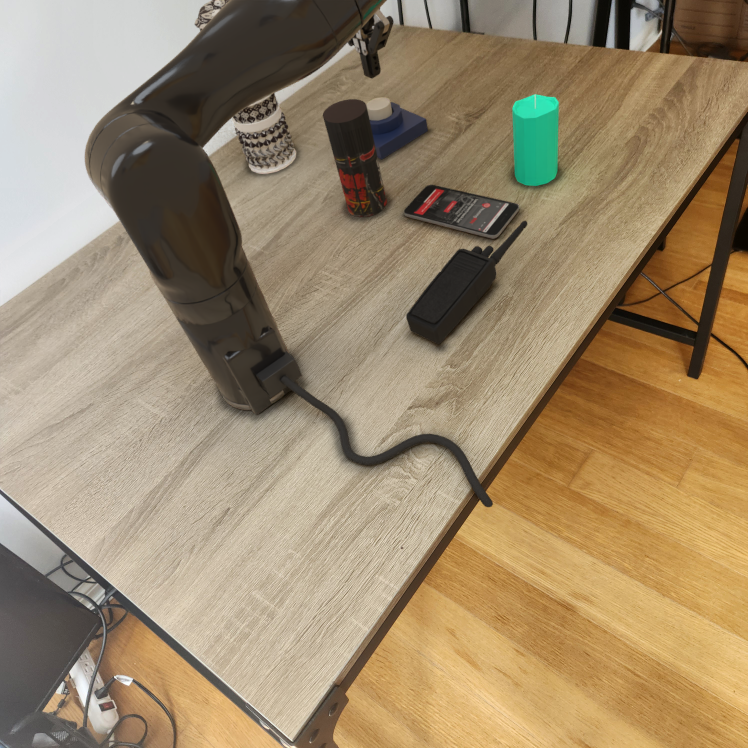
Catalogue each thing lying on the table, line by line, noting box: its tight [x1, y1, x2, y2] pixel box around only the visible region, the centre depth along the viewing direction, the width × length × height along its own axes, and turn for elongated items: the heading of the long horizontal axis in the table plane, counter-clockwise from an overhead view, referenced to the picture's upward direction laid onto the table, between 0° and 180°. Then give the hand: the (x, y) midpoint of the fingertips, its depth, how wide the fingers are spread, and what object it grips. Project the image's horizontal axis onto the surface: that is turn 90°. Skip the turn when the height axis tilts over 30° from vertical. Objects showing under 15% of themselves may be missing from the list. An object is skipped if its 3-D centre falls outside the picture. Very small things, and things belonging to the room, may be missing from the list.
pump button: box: [366, 96, 392, 121], centre depth 105 cm, size 4×4×2 cm
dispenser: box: [370, 101, 429, 160], centre depth 107 cm, size 11×10×4 cm
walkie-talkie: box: [405, 220, 528, 345], centre depth 78 cm, size 6×6×20 cm
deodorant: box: [322, 98, 388, 219], centre depth 91 cm, size 6×6×15 cm
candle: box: [511, 93, 560, 187], centre depth 89 cm, size 6×6×12 cm
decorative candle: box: [194, 0, 297, 175], centre depth 101 cm, size 9×9×25 cm
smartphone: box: [403, 184, 520, 240], centre depth 91 cm, size 7×1×15 cm
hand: (372, 75), depth 101 cm, fingers closed
